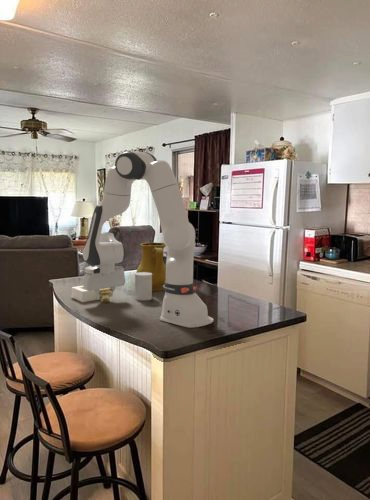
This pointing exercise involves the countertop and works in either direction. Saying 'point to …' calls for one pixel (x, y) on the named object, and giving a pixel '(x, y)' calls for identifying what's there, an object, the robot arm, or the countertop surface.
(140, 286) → the white cylinder
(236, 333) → the countertop surface
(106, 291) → the brass dome knob
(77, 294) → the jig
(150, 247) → the pitcher
